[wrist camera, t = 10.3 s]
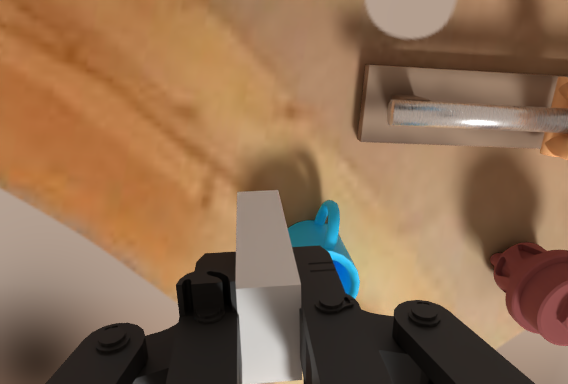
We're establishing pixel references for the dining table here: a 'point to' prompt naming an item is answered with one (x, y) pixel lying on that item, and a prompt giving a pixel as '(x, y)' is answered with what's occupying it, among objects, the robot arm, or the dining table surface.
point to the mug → (328, 243)
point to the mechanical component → (535, 288)
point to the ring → (557, 143)
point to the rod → (477, 116)
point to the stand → (449, 88)
